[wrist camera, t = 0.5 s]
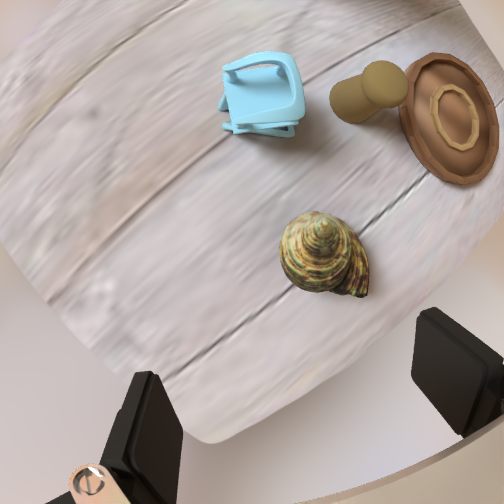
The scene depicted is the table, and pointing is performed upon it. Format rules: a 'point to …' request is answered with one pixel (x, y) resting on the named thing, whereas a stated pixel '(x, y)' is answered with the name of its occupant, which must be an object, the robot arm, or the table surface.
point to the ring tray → (450, 119)
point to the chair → (263, 95)
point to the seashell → (324, 256)
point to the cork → (369, 92)
